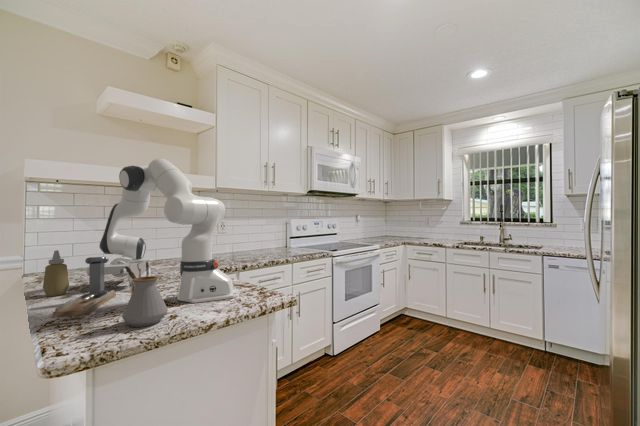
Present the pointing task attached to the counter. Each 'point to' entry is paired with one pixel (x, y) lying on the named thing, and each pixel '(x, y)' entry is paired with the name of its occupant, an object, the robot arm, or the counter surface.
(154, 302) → the coffee pot
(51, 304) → the counter surface
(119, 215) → the robot arm
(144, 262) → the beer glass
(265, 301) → the counter surface
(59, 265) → the squeeze bottle
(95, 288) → the handle
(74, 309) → the track
